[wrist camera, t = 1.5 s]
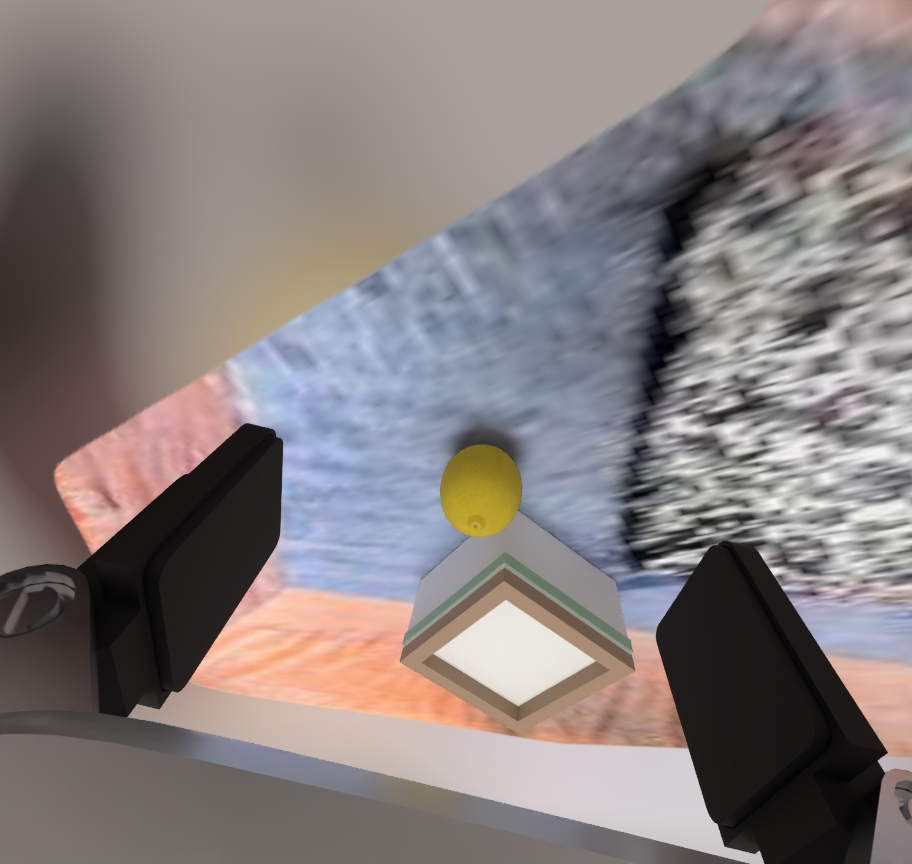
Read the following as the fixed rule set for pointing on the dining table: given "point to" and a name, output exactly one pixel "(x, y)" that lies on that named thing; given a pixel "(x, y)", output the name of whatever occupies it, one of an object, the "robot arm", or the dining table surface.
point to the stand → (518, 626)
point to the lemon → (481, 490)
